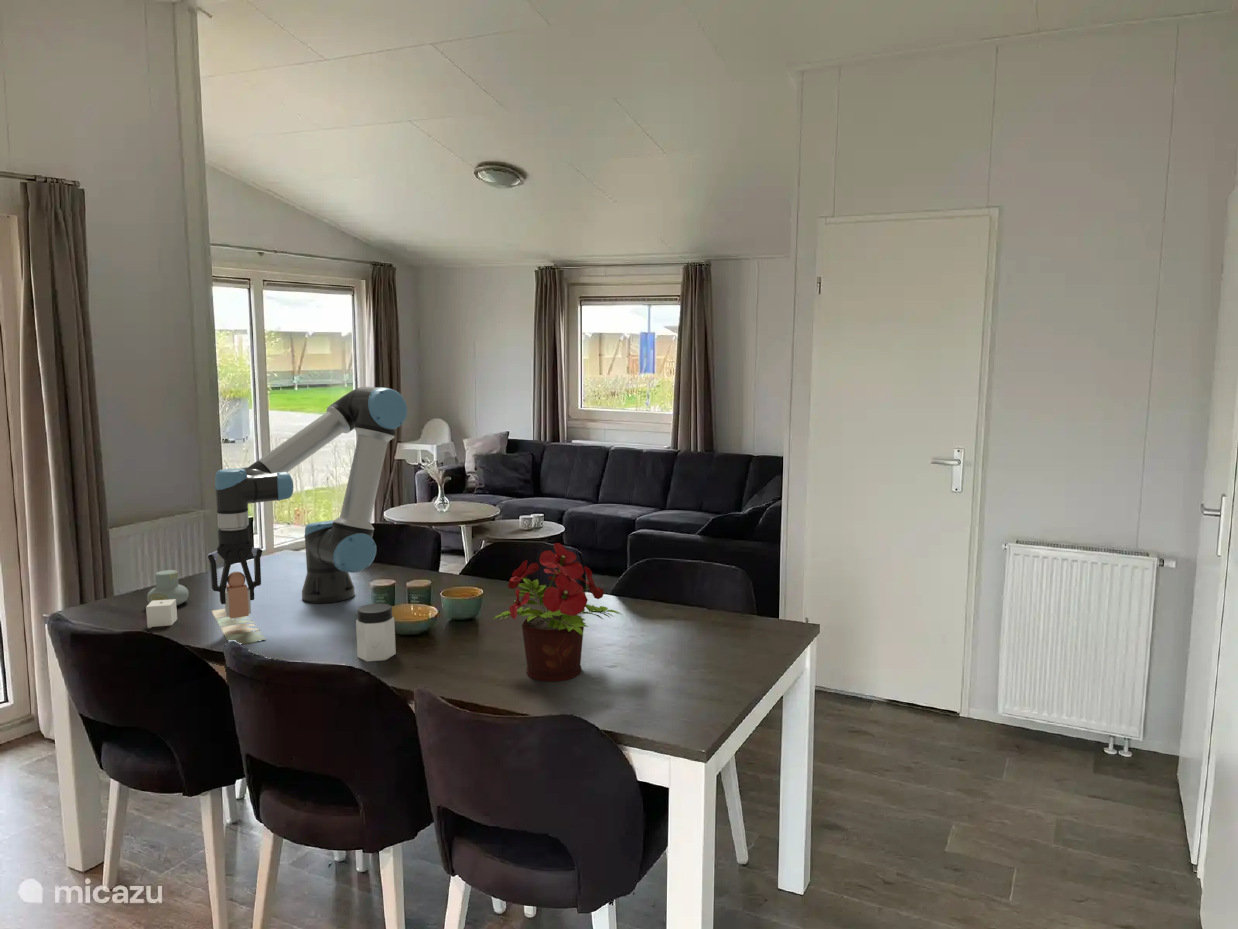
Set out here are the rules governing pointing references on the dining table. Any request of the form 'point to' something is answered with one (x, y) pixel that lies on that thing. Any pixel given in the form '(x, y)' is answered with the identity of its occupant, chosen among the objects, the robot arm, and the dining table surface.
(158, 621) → the die
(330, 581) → the robot arm
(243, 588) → the orange-brown peg figure
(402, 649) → the dining table surface
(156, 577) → the air freshener
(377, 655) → the jar
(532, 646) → the potted plant
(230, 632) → the track
